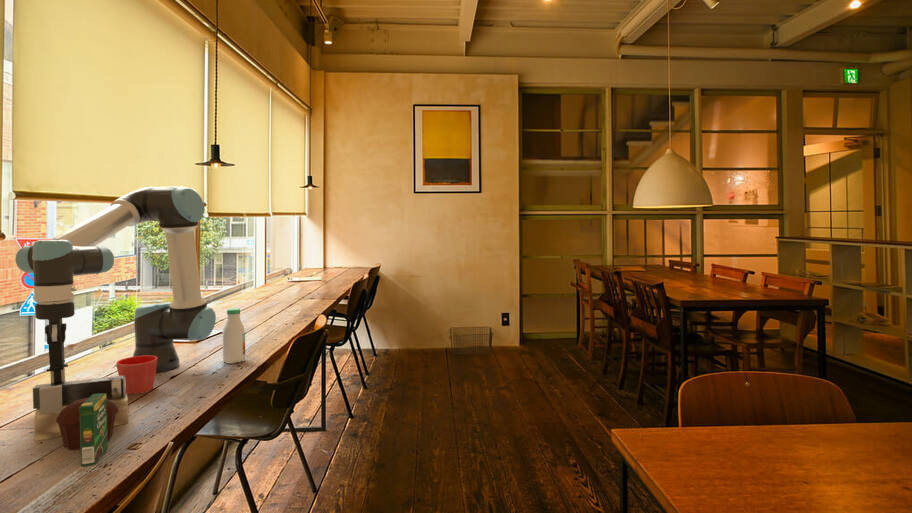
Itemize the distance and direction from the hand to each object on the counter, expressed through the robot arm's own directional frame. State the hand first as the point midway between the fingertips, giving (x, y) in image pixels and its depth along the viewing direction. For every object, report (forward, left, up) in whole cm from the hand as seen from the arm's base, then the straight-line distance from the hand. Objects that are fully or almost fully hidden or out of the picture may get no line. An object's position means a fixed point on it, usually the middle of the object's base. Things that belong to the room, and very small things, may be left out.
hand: (58, 394), depth 121 cm
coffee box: (-7, +26, -8) cm, 29 cm away
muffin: (-6, +15, -8) cm, 18 cm away
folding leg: (-5, +3, -2) cm, 6 cm away
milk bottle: (-50, -40, -8) cm, 64 cm away
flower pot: (-18, -21, -8) cm, 28 cm away
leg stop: (+1, +7, -2) cm, 8 cm away
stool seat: (-5, -4, -8) cm, 10 cm away
